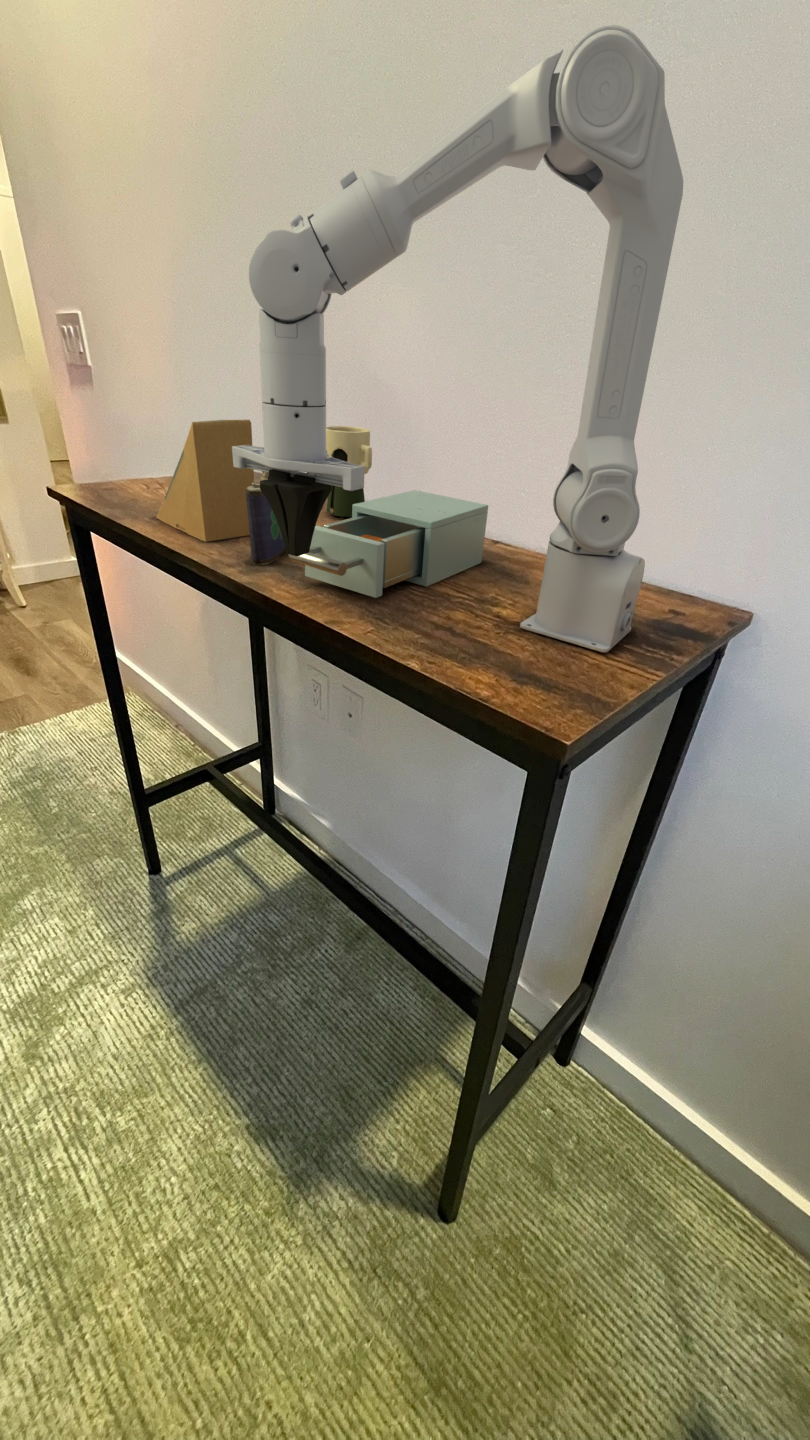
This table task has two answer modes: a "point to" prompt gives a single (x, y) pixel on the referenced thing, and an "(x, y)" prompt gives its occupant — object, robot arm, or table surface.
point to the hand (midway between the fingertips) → (298, 553)
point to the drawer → (364, 554)
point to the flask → (262, 526)
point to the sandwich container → (210, 483)
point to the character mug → (352, 449)
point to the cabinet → (436, 529)
